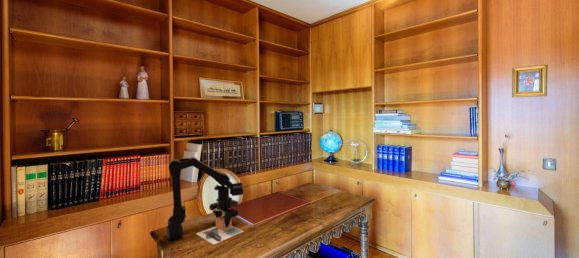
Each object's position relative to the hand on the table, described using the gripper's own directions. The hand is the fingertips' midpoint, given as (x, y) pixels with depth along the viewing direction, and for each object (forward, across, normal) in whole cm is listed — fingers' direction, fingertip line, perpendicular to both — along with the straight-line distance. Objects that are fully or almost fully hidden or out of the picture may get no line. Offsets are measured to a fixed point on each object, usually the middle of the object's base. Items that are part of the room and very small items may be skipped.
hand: (223, 225), depth 140 cm
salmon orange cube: (+1, 0, 0) cm, 1 cm away
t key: (+1, -8, +10) cm, 13 cm away
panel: (+2, -4, +5) cm, 7 cm away
